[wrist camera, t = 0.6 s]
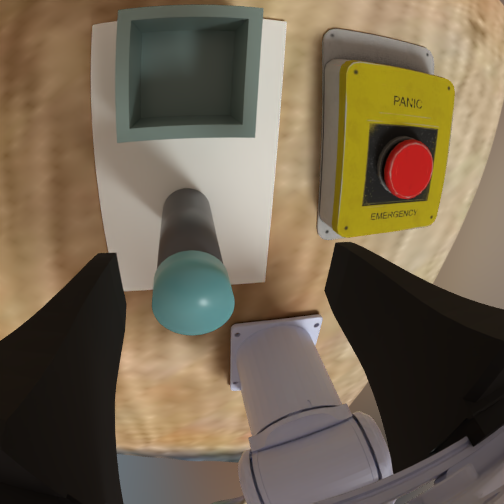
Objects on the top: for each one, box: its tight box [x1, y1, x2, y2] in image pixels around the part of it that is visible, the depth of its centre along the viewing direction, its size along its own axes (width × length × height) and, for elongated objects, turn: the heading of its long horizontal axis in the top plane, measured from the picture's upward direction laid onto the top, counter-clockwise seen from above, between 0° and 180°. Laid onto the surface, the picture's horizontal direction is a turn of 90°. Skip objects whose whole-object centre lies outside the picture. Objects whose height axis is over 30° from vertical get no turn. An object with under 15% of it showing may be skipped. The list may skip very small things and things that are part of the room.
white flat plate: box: [91, 19, 287, 291], centre depth 18 cm, size 18×11×1 cm, turn 177°
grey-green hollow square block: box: [115, 5, 263, 143], centre depth 13 cm, size 6×6×4 cm
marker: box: [152, 188, 235, 335], centre depth 16 cm, size 3×3×9 cm
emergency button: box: [317, 29, 455, 240], centre depth 18 cm, size 9×4×15 cm
